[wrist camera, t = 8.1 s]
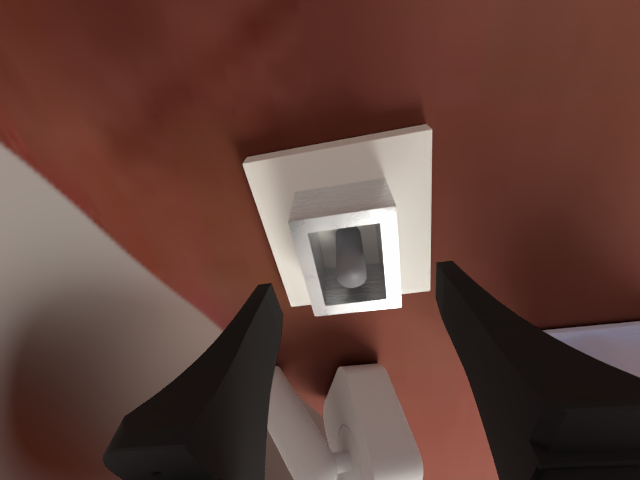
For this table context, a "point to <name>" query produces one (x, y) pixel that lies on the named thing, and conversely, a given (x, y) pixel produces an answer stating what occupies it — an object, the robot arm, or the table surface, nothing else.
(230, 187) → the table surface
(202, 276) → the table surface
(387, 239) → the hollow square tube
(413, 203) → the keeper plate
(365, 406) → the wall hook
